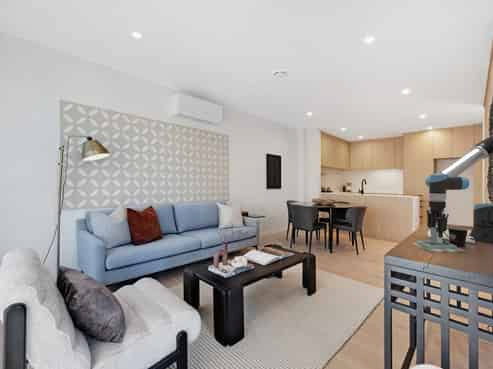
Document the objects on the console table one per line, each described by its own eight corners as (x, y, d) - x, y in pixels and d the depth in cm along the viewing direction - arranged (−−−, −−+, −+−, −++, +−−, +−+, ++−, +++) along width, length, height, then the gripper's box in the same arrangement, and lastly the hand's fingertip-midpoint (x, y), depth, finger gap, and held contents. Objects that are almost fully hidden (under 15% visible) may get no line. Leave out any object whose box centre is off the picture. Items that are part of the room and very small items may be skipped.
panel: (442, 243, 141) (442, 225, 141) (456, 248, 131) (457, 229, 131) (416, 243, 141) (417, 225, 141) (429, 248, 131) (429, 230, 131)
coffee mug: (471, 247, 135) (471, 230, 135) (453, 247, 137) (454, 229, 137) (457, 241, 147) (457, 225, 146) (441, 241, 149) (441, 225, 148)
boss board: (443, 244, 142) (443, 237, 142) (464, 252, 128) (464, 244, 128) (412, 244, 143) (413, 237, 142) (430, 252, 129) (430, 245, 128)
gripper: (420, 199, 143) (419, 237, 145) (442, 202, 127) (441, 246, 128) (432, 199, 143) (432, 237, 144) (456, 202, 127) (455, 246, 128)
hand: (436, 241), depth 136 cm, fingers closed on panel, 3 cm apart
